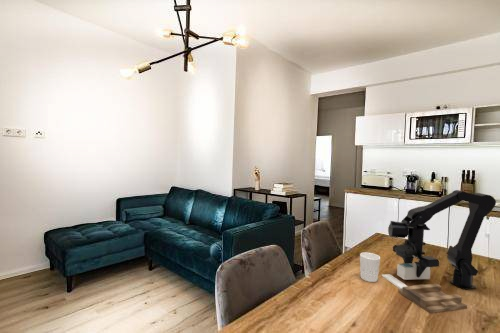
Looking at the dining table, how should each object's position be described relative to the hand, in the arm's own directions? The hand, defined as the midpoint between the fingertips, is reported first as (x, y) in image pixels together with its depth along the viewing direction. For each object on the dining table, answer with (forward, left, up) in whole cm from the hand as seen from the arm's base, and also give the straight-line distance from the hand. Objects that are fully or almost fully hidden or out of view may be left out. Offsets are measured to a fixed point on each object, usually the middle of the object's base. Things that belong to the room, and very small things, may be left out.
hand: (413, 274), depth 115 cm
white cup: (+19, -4, -2) cm, 20 cm away
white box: (0, 0, -1) cm, 1 cm away
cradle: (+7, +15, -2) cm, 17 cm away
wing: (+10, +1, -3) cm, 10 cm away
